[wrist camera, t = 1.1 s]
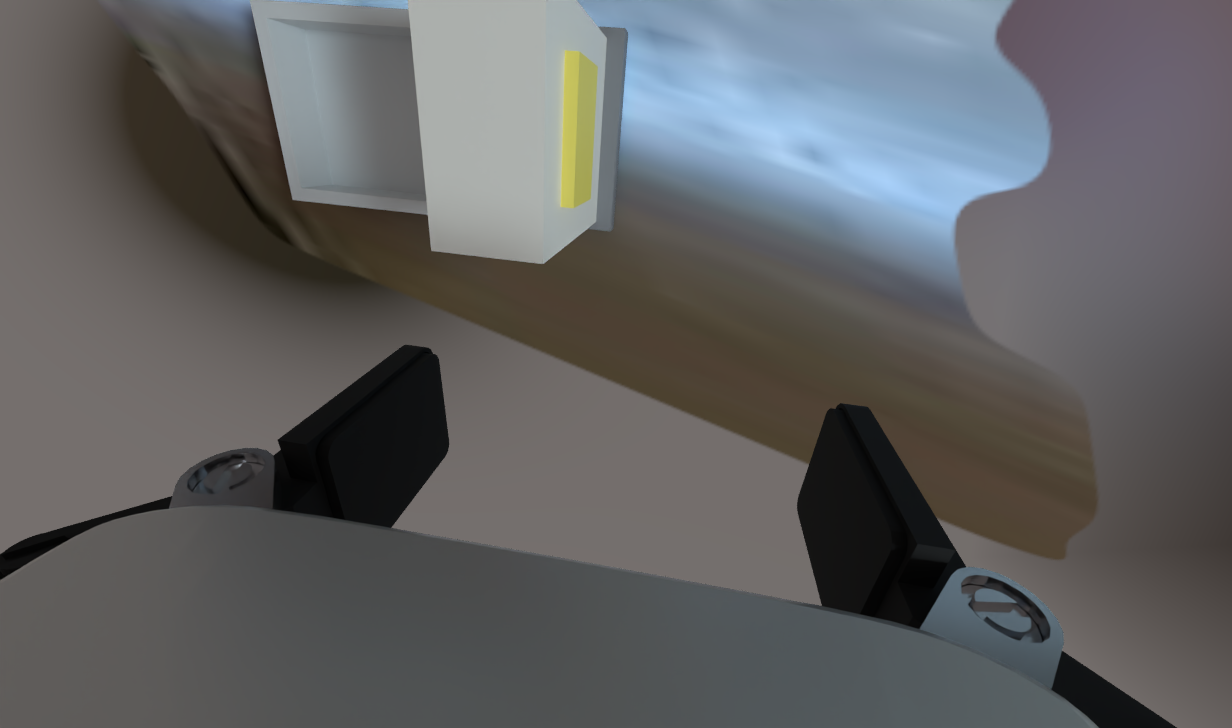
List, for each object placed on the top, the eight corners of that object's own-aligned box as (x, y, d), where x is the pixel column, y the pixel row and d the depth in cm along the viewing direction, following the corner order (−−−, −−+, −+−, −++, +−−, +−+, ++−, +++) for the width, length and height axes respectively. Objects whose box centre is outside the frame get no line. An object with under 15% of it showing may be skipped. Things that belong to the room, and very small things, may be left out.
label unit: (511, 25, 27) (373, -66, 16) (627, 33, 27) (576, -56, 15) (514, 217, 32) (410, 259, 20) (613, 228, 32) (565, 278, 20)
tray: (297, 15, 29) (249, -1, 26) (459, 26, 28) (430, 10, 25) (330, 194, 33) (292, 199, 30) (470, 209, 32) (446, 216, 29)
